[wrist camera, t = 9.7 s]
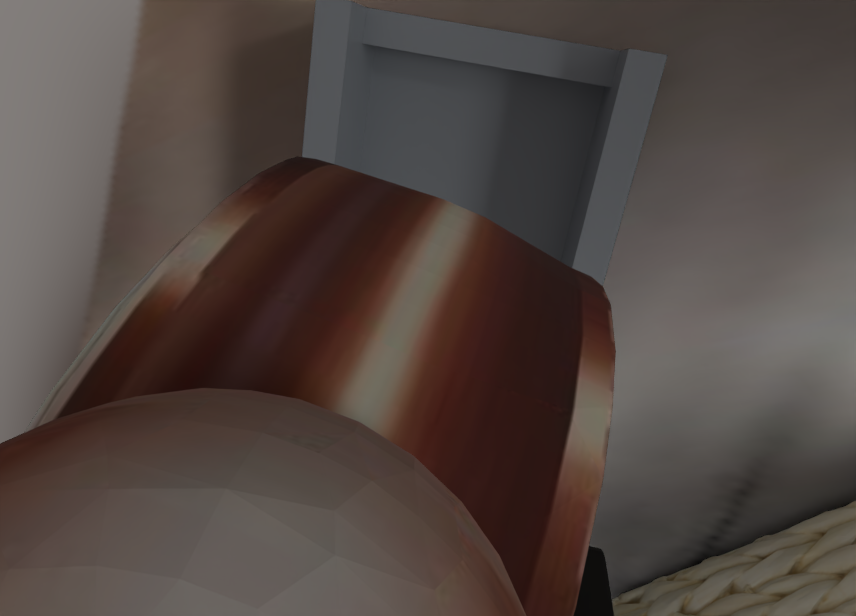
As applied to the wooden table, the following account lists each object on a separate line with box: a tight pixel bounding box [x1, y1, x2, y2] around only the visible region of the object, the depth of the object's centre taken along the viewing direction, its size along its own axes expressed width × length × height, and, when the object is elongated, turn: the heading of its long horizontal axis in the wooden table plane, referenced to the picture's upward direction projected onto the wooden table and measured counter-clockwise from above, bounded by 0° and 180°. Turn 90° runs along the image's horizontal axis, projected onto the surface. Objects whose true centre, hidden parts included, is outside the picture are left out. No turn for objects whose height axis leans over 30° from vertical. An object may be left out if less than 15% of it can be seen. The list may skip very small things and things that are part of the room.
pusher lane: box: [302, 0, 668, 286], centre depth 28 cm, size 12×30×5 cm, turn 170°
